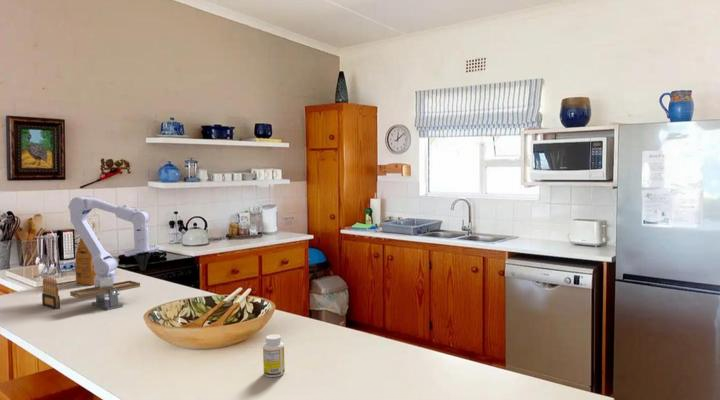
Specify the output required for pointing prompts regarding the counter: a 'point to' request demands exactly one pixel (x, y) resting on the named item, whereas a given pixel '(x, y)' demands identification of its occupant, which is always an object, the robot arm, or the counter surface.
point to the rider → (103, 283)
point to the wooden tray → (93, 292)
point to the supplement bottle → (273, 356)
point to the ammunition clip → (50, 293)
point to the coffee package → (84, 265)
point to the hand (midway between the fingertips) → (142, 270)
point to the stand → (110, 303)
